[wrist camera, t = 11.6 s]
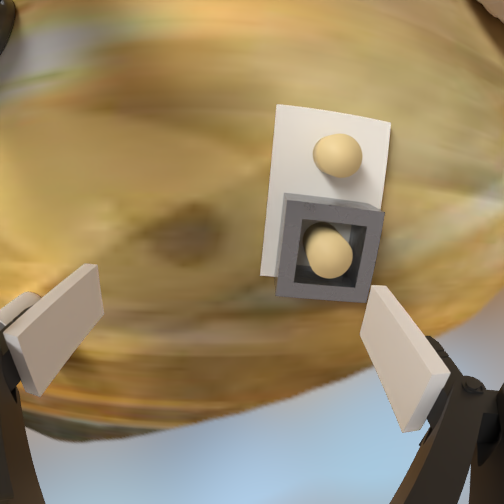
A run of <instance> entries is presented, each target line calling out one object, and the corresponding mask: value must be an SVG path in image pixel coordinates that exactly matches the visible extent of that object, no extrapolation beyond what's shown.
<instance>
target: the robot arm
mask: <svg viewBox="0 0 504 504" xmlns="http://www.w3.org/2000/svg"><path fill="white" fill-rule="evenodd" d="M14 18H15V6H14V3H13V1H12V0H0V54H1V53H2V51H3V49H4V47H5V45H6V43H7V41H8V38H9V36H10V33H11V30H12V27H13V23H14ZM103 315H104V310H103V303H102V296H101V289H100V281H99V273H98V265H96V264H86V263H85V264H83V265H82V266H81V267H79V268H78V269H77V270H76V271H74V272H73V273H72V274H71V275H69V276H68V277H67V278H66V279H64V280H63V281H62V282H61V283H59V284H58V285H57V286H56V287H55V288H53V289H52V290H51V291H50V292H48V293H47V294H46V295H45V296H44V297H42V298H41V299H40V300H39V301H38V302H37V303H35V304H34V305H32V306H30V307H28V308H26V309H24V310H23V311H22V312H21V313H20V314H19V315H18V316H16V317H15V318H14V319H13V321H11V322H9V323H8V324H7V325H6V326H5V327H4V328H3V329H2V330H1V331H0V504H45V501H44V498H43V495H42V492H41V489H40V486H39V482H38V479H37V476H36V472H35V469H34V465H33V461H32V457H31V453H30V449H29V445H28V440H27V435H26V431H25V426H24V420H23V415H22V409H21V402H20V395H19V391H18V389H17V387H16V385H17V384H18V383H19V382H20V381H21V382H22V384H23V387H24V389H25V391H26V392H28V393H30V394H33V395H36V396H39V397H41V395H42V394H43V392H44V391H45V390H46V388H47V387H48V386H49V384H50V383H51V381H52V380H53V379H54V377H55V376H56V375H57V373H58V372H59V371H60V369H61V368H62V367H63V365H64V364H65V363H66V361H67V360H68V359H69V358H70V356H71V355H72V354H73V352H74V351H75V350H76V348H77V347H78V346H79V345H80V343H81V342H82V341H83V340H84V338H85V337H86V336H87V335H88V333H89V332H90V331H91V330H92V328H93V327H94V326H95V325H96V323H97V322H98V321H99V320H100V318H101V317H102V316H103ZM360 337H361V339H362V341H363V343H364V345H365V347H366V350H367V352H368V354H369V356H370V358H371V361H372V363H373V365H374V367H375V369H376V372H377V374H378V376H379V379H380V381H381V383H382V385H383V388H384V390H385V392H386V395H387V397H388V399H389V402H390V404H391V406H392V409H393V411H394V413H395V416H396V418H397V421H398V423H399V426H400V428H401V431H402V433H404V432H410V431H417V430H420V429H421V428H422V426H423V424H424V422H425V421H426V419H427V420H428V422H429V424H430V428H429V429H428V431H427V433H426V434H425V436H424V438H423V439H422V441H421V442H420V444H419V446H420V448H419V450H418V452H417V454H416V456H415V458H414V461H413V462H412V464H411V466H410V468H409V470H408V472H407V474H406V476H405V477H404V479H403V481H402V483H401V485H400V487H399V488H398V490H397V492H396V493H395V495H394V497H393V499H392V500H391V502H390V504H457V503H458V500H459V497H460V495H461V492H462V489H463V486H464V483H465V480H466V477H467V474H468V471H469V467H470V464H471V476H470V495H469V504H504V383H503V385H502V387H501V388H500V390H499V391H494V390H486V388H485V386H484V385H483V383H482V382H480V381H479V380H478V379H476V378H474V377H470V376H463V375H462V373H461V372H460V371H459V369H458V368H457V366H456V365H455V364H454V362H453V361H452V360H451V358H450V357H448V356H449V355H448V354H447V353H446V352H445V351H444V349H443V347H442V346H441V345H440V344H439V342H437V341H436V340H435V339H433V338H432V337H431V336H424V335H423V333H422V332H421V330H420V329H419V328H418V326H417V325H416V324H415V322H414V321H413V320H412V319H411V317H410V316H409V315H408V313H407V312H406V311H405V309H404V308H403V307H402V306H401V304H400V303H399V302H398V300H397V299H396V298H395V297H394V295H393V294H392V293H391V292H390V290H389V289H388V288H387V287H386V286H380V285H371V290H370V294H369V298H368V303H367V307H366V311H365V315H364V319H363V323H362V327H361V331H360Z"/></svg>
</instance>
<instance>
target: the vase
mask: <svg viewBox="0 0 504 504" xmlns="http://www.w3.org/2000/svg"><path fill="white" fill-rule="evenodd" d="M477 1H478V2H479V3H482V5H483V6H484V7H485V9H486V10H487V11H488V12H489V13H490V14H492V15H493V16H494V17H498V18H499V19H500V20H501V22H503V23H504V0H477Z"/></svg>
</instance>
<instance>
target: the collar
mask: <svg viewBox="0 0 504 504" xmlns="http://www.w3.org/2000/svg"><path fill="white" fill-rule="evenodd" d="M384 215H385V212H383V211H382V210H380V209H378V208H376V207H374V206H373V205H371V204H369V203H363V202H356V201H349V200H342V199H334V198H326V197H318V196H310V195H301V194H292V193H284V196H283V205H282V215H281V223H280V232H279V241H278V249H277V258H276V266H275V274H274V279H275V296H283V297H294V298H306V299H319V300H332V301H346V302H361V303H366V301H367V297H368V293H369V289H370V285H371V280H372V276H373V271H374V267H375V262H376V257H377V253H378V248H379V242H380V237H381V232H382V226H383V221H384ZM302 219H309V220H318V221H326V222H335V223H343V224H351V225H352V226H351V232H350V238H349V245H350V247H351V249H352V254H353V258H352V263H351V265H350V267H349V268H348V270H347V271H346V272H345V273H344V274H342V275H341V276H339V277H336V278H323V277H320V276H319V275H317V274H316V273H315V272H314V271H313V270H312V268H311V266H304V265H296V262H297V255H298V248H299V240H300V233H301V225H302Z"/></svg>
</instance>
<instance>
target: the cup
mask: <svg viewBox="0 0 504 504" xmlns="http://www.w3.org/2000/svg"><path fill="white" fill-rule="evenodd" d="M40 299H41V297H40V296H39V295H37V294H35V293H32V292H24V293H23V294H21V295H19V296H18V297H16V298H15V299H14V300H12V301H11V302H10V303H8V304H7V305H6V306H4V307H3V308H2V309H0V331H1V330H2V329H3V328H4V327H5V326H6V325H7V324H8V323H9V322H11V321H13V319H14V318H15V317H16V316H18V315H19V314H20V313H21V312H22V311H23V310H24V309H26V308H28V307H30V306H32V305H34V304H35V303H37V302H38V301H39V300H40Z"/></svg>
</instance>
